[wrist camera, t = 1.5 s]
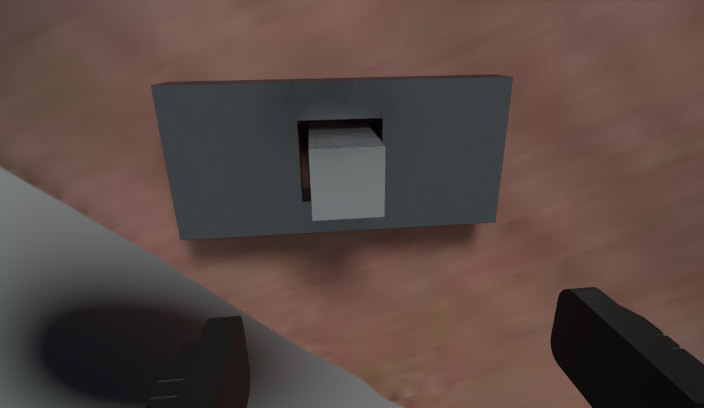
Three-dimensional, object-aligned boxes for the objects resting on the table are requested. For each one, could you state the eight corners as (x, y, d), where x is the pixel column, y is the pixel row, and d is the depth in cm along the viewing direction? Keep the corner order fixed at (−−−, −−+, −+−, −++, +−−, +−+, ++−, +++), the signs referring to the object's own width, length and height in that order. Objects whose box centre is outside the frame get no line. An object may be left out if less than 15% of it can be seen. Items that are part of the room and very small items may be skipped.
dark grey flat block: (192, 222, 29) (180, 240, 27) (168, 82, 26) (151, 85, 23) (478, 207, 31) (495, 222, 29) (492, 74, 28) (512, 76, 25)
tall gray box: (312, 178, 29) (312, 220, 22) (308, 123, 28) (308, 149, 20) (365, 175, 30) (384, 216, 22) (365, 121, 28) (385, 146, 21)
